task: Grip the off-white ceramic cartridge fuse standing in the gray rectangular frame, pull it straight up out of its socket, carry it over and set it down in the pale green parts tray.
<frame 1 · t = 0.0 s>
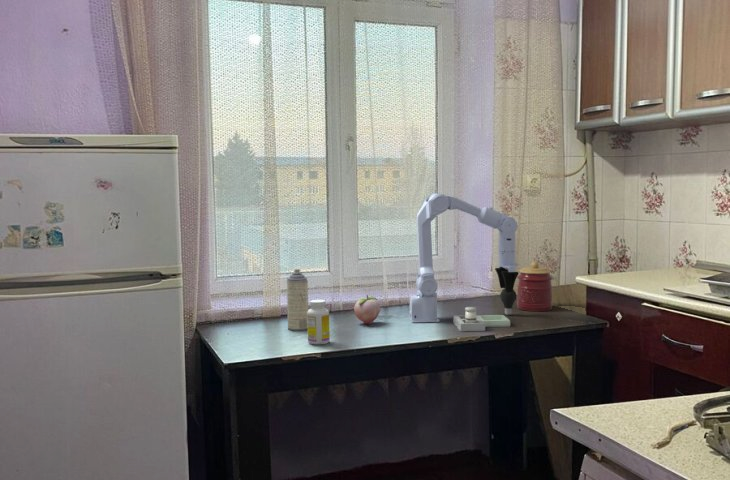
hand: (506, 289, 244), 10 cm above the table, tool pointing down, fingers open, 7 cm apart
light bulb: (508, 315, 250), on the table
fuse: (470, 329, 229), resting in gray rectangular frame
gray rectangular frame: (468, 326, 233), on the table
aerosol can: (298, 329, 232), on the table
canister: (534, 309, 262), on the table
supplement bottle: (318, 343, 214), on the table
decorative fruit: (366, 324, 238), on the table
parts tray: (493, 323, 237), on the table
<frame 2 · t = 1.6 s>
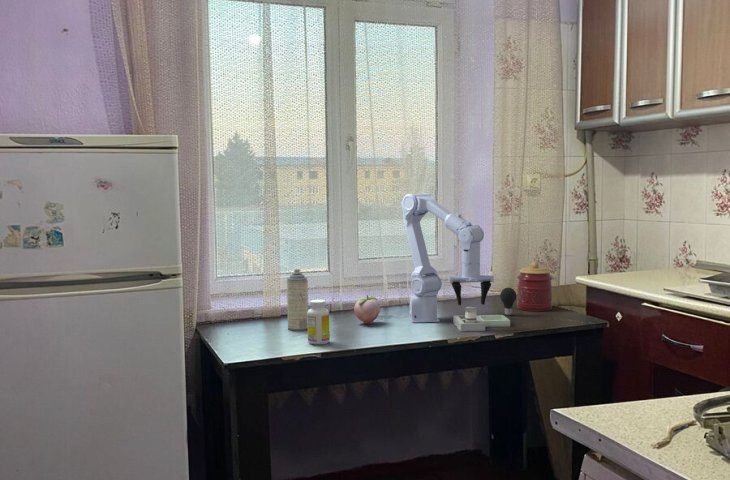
hand: (471, 304, 229), 8 cm above the table, tool pointing down, fingers open, 7 cm apart
nothing on the table moved.
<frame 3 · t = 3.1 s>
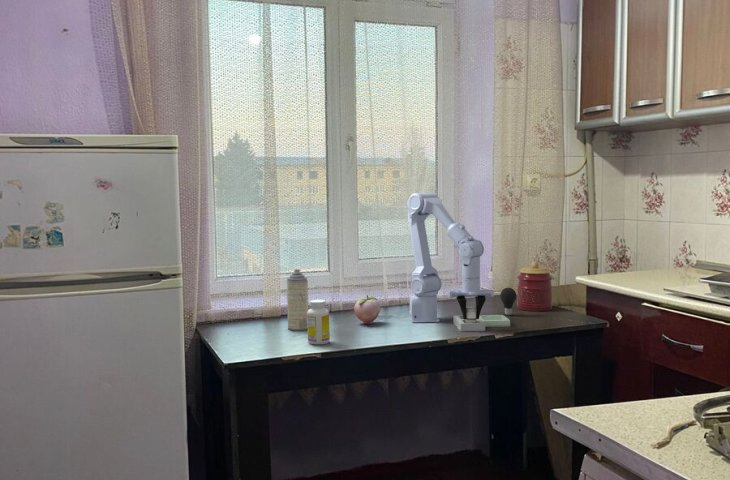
hand: (470, 318, 229), 3 cm above the table, tool pointing down, fingers closed on fuse, 4 cm apart
fuse: (470, 328, 229), resting in gray rectangular frame, touching gripper
everything else where it was.
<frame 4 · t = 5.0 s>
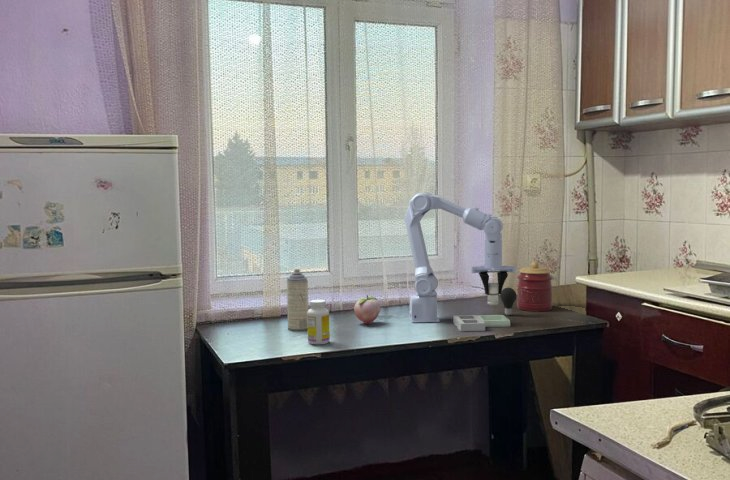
hand: (493, 293, 235), 10 cm above the table, tool pointing down, fingers closed on fuse, 4 cm apart
fuse: (493, 304, 236), point 7 cm above the table, touching gripper
everything else where it was.
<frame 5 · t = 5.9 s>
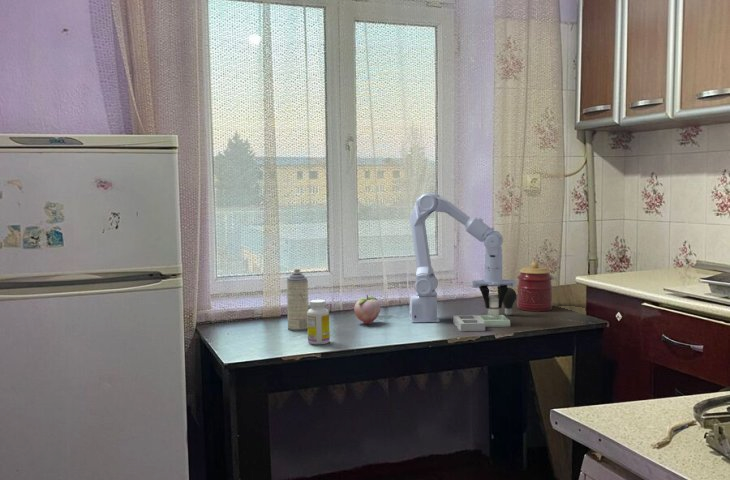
hand: (493, 307, 236), 5 cm above the table, tool pointing down, fingers closed on fuse, 4 cm apart
fuse: (493, 317, 236), point 2 cm above the table, touching gripper
everything else where it was.
when the fingers open (5 cm above the table, at t = 6.8 s): fuse stays where it is, resting on parts tray.
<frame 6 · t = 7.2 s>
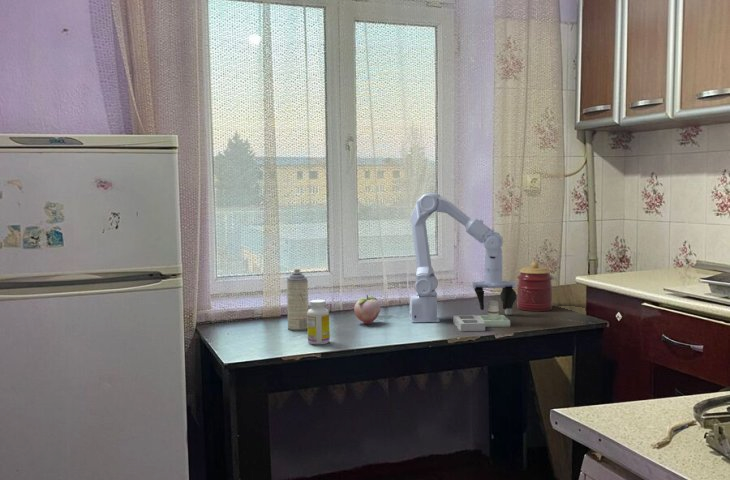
hand: (493, 309, 236), 5 cm above the table, tool pointing down, fingers open, 7 cm apart
fuse: (493, 322, 236), point 1 cm above the table, touching parts tray
everything else where it was.
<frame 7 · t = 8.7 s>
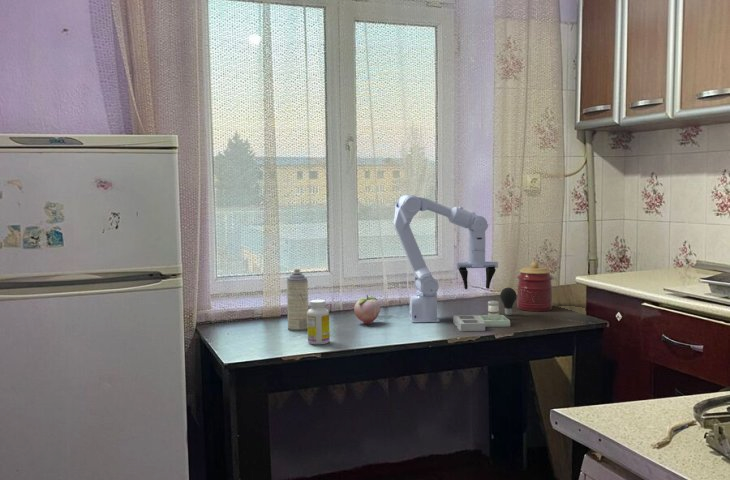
hand: (476, 288, 245), 10 cm above the table, tool pointing down, fingers open, 7 cm apart
nothing on the table moved.
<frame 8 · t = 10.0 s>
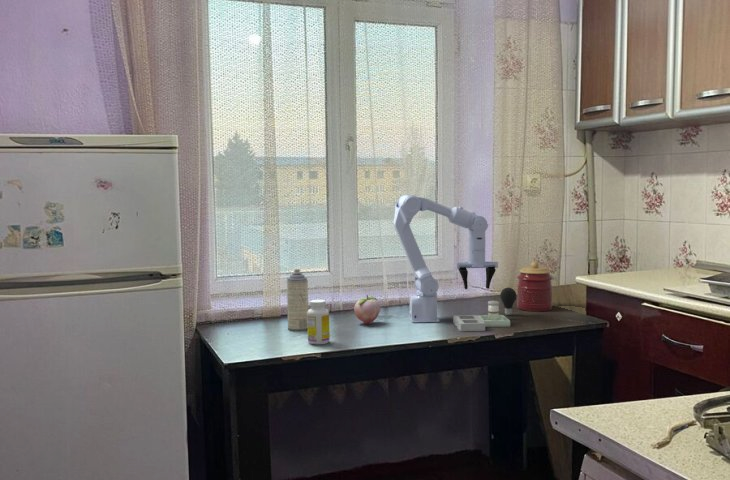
hand: (476, 288, 245), 10 cm above the table, tool pointing down, fingers open, 7 cm apart
nothing on the table moved.
at the end: fuse 0.1 cm off-centre on the parts tray, point 0.6 cm above the parts tray's base; the gripper is holding nothing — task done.
